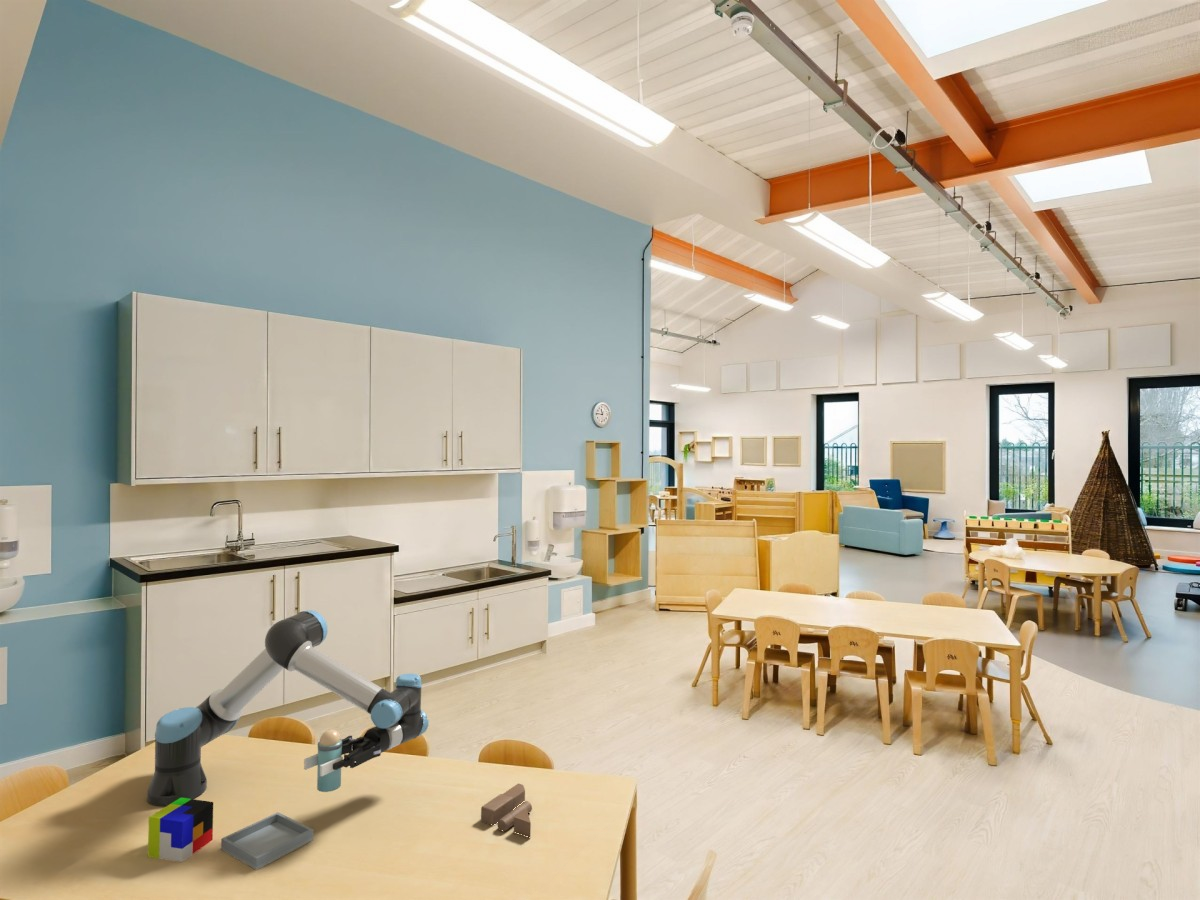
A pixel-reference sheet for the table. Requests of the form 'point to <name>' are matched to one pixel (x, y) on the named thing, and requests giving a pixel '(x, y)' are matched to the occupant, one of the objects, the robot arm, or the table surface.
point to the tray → (266, 840)
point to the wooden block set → (509, 811)
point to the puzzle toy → (180, 829)
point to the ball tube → (327, 752)
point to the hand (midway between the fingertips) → (312, 767)
